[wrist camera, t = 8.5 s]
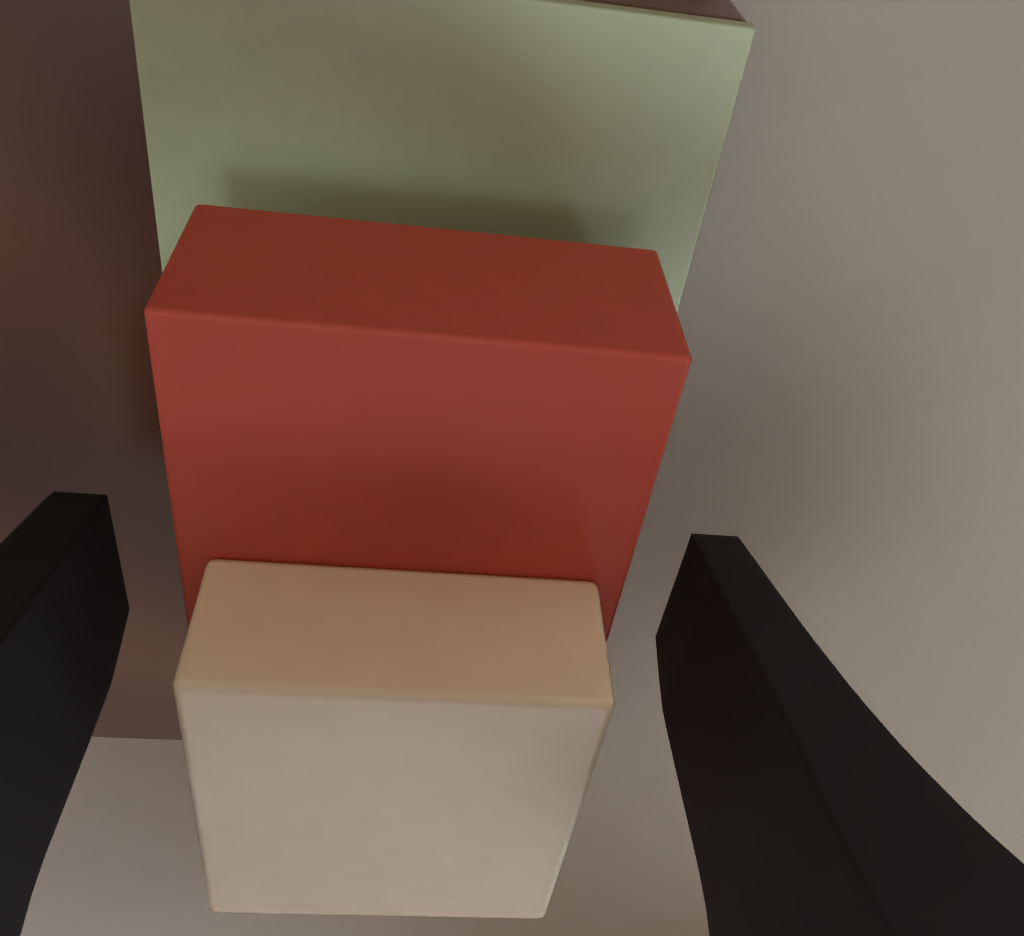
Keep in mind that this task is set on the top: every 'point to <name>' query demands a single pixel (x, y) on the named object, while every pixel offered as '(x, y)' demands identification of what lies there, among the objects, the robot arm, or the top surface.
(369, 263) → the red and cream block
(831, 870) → the robot arm
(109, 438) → the board
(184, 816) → the top surface
